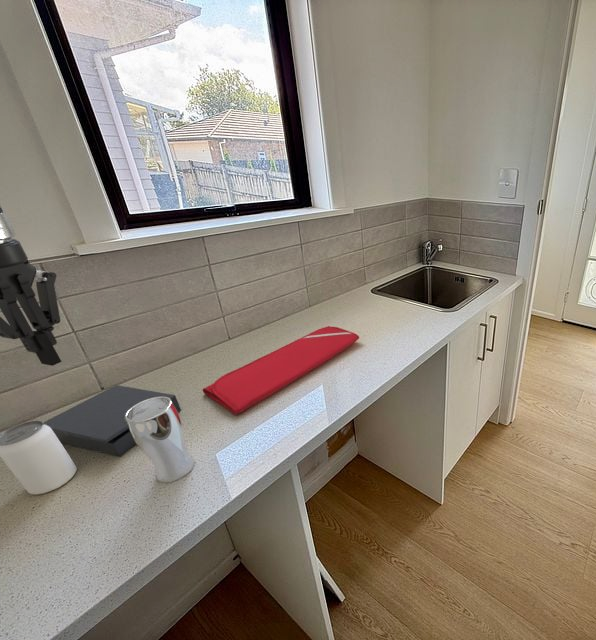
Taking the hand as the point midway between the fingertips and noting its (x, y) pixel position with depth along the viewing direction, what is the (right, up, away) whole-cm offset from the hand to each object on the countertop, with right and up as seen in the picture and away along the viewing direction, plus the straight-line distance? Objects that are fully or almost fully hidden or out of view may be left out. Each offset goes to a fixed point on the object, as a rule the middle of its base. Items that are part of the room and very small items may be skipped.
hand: (51, 362), depth 65 cm
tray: (+5, -15, +10) cm, 19 cm away
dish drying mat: (+34, -5, +31) cm, 47 cm away
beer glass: (+25, -21, 0) cm, 32 cm away
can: (+4, -22, -3) cm, 22 cm away
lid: (+5, -12, +8) cm, 15 cm away
